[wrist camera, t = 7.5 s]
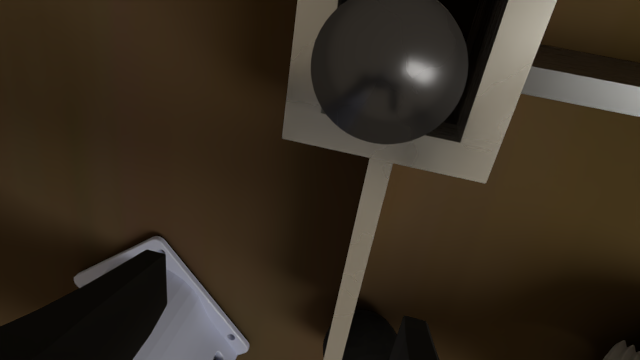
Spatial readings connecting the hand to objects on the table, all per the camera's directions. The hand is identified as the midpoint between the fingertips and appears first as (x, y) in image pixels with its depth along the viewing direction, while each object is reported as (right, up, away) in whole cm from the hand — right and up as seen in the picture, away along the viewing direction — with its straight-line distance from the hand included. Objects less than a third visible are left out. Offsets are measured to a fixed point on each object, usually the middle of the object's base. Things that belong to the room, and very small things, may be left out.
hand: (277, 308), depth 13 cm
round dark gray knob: (+4, +10, +5) cm, 12 cm away
